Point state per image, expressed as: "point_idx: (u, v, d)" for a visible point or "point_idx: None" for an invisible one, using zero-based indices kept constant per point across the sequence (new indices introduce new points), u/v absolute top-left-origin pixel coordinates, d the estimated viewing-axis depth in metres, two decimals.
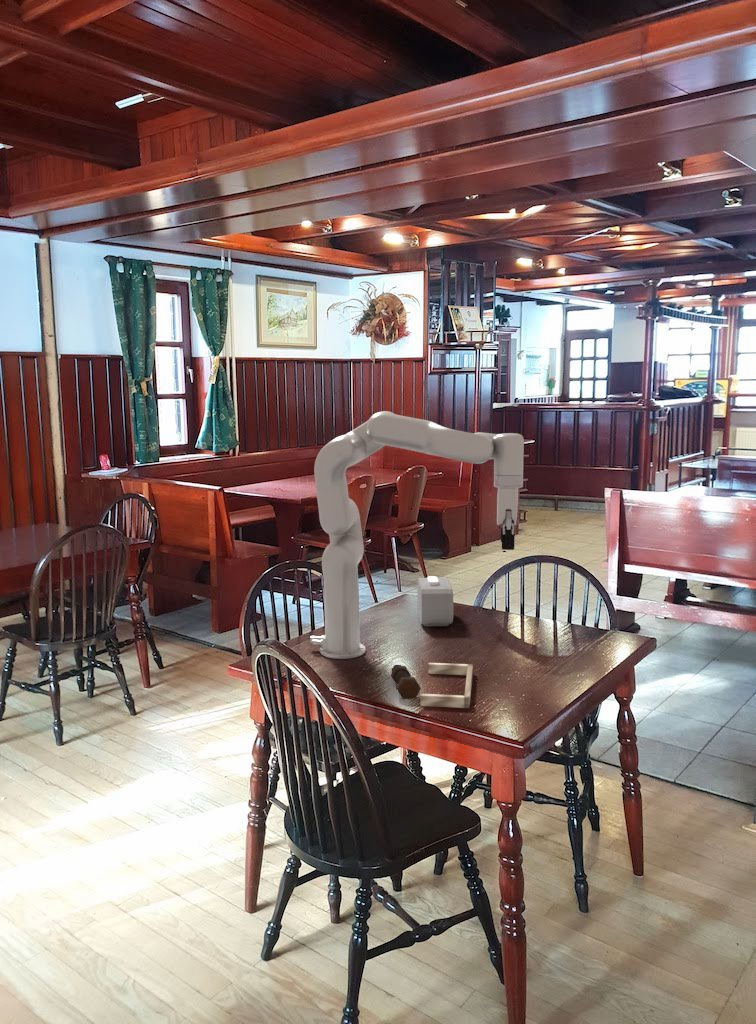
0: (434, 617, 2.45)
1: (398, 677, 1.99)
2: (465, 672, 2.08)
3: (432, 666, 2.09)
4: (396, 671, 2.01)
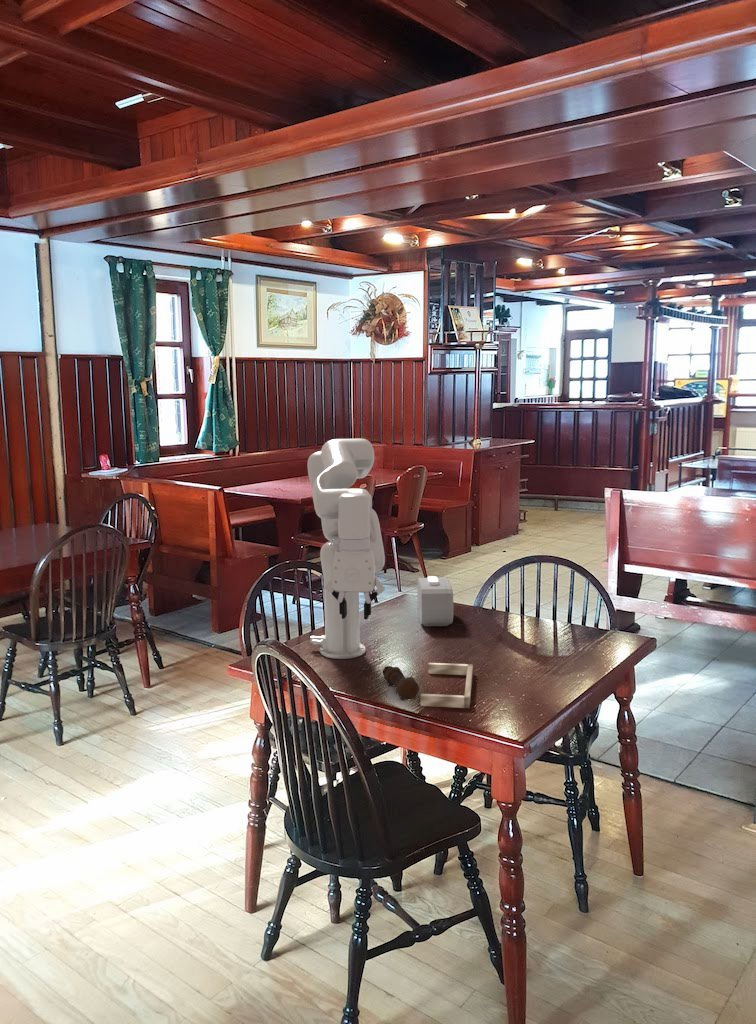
0: (434, 617, 2.45)
1: (394, 678, 1.98)
2: (465, 672, 2.08)
3: (432, 666, 2.09)
4: (390, 672, 2.00)
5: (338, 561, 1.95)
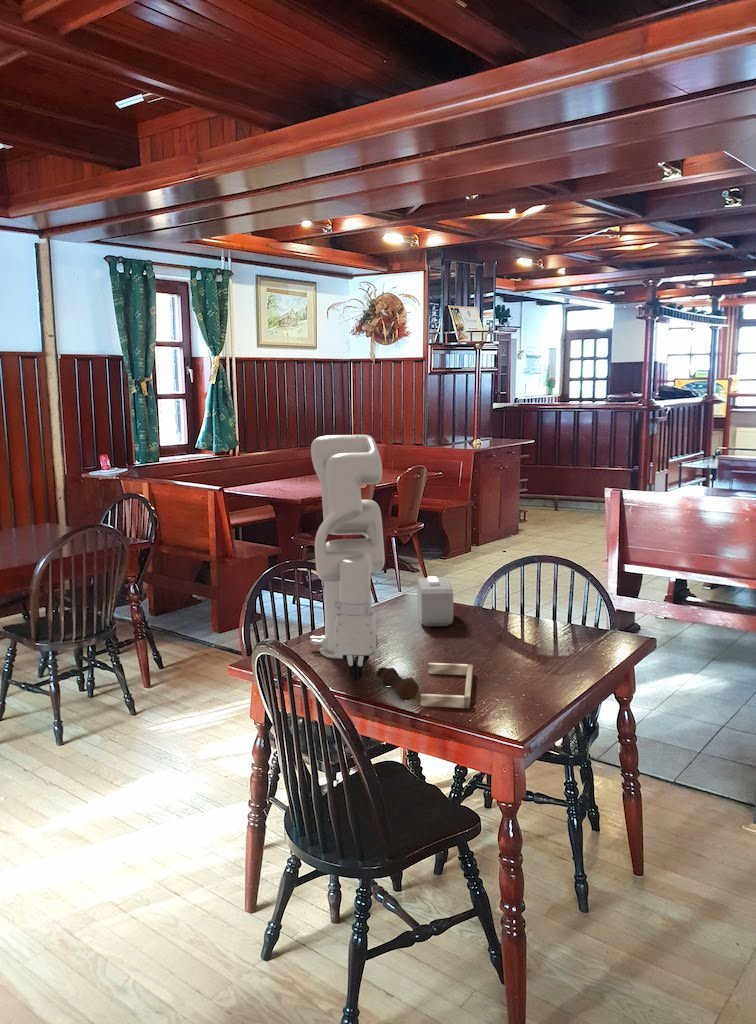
0: (434, 617, 2.45)
1: (391, 679, 1.97)
2: (465, 672, 2.08)
3: (432, 666, 2.09)
4: (386, 674, 2.00)
5: (339, 625, 1.97)
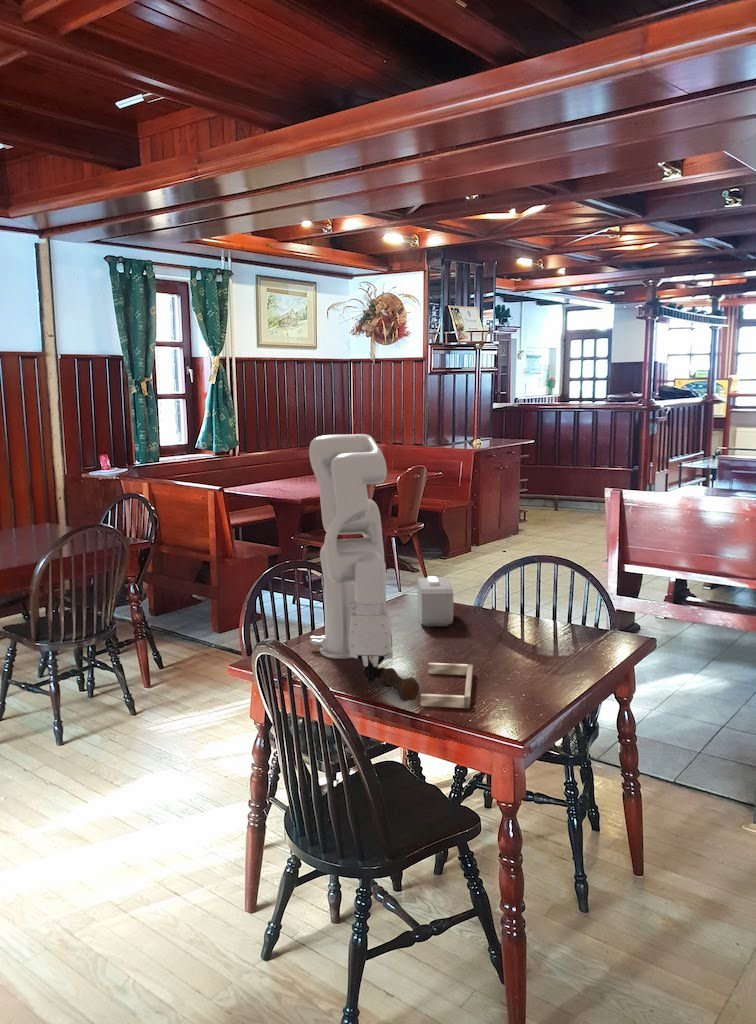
0: (434, 617, 2.45)
1: (391, 680, 1.97)
2: (465, 672, 2.08)
3: (432, 666, 2.09)
4: (385, 674, 1.99)
5: (355, 625, 1.97)
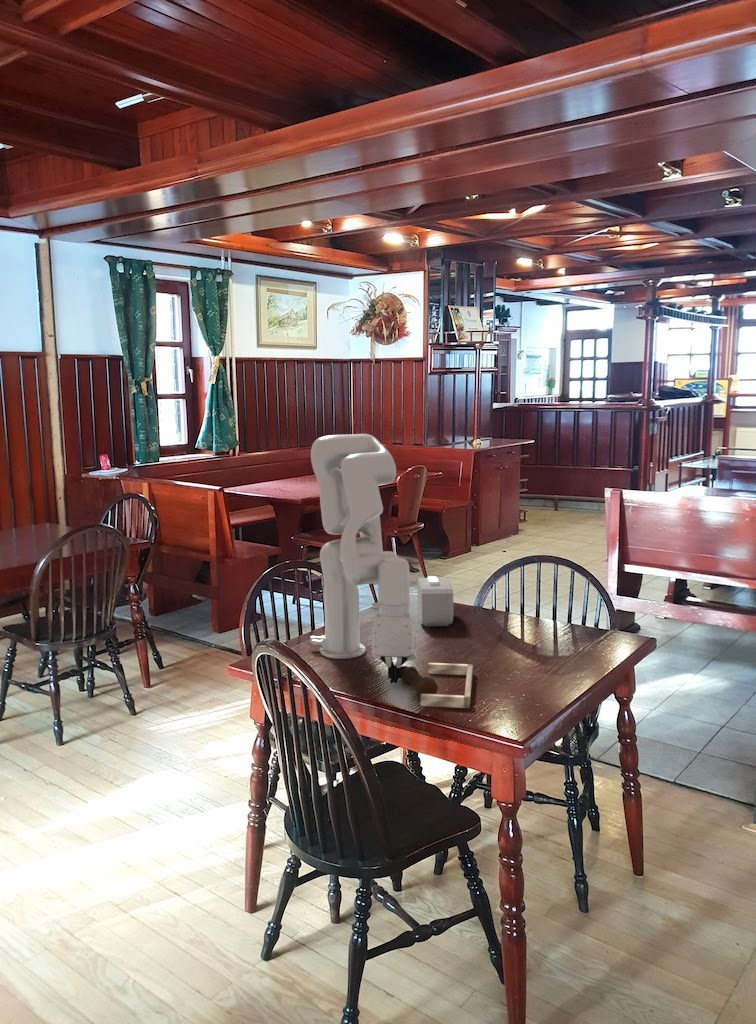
0: (434, 617, 2.45)
1: (411, 678, 1.97)
2: (465, 672, 2.08)
3: (432, 666, 2.09)
4: (406, 672, 2.00)
5: (378, 626, 1.96)
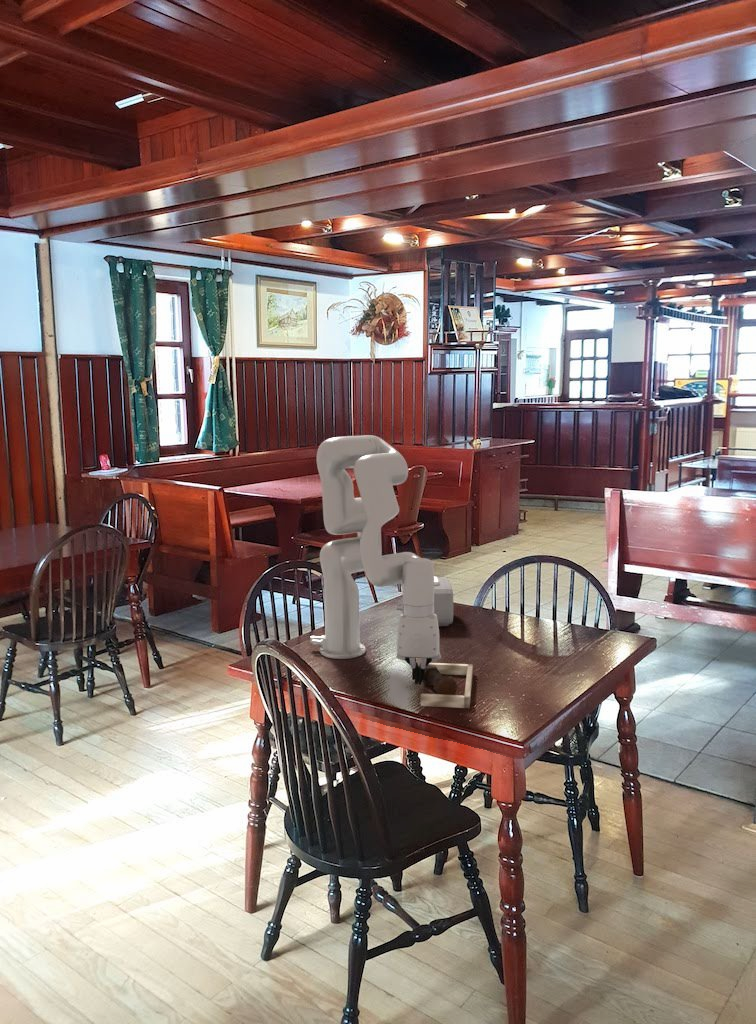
0: None
1: (431, 677, 1.98)
2: (465, 672, 2.08)
3: None
4: (427, 671, 2.01)
5: (403, 627, 1.95)
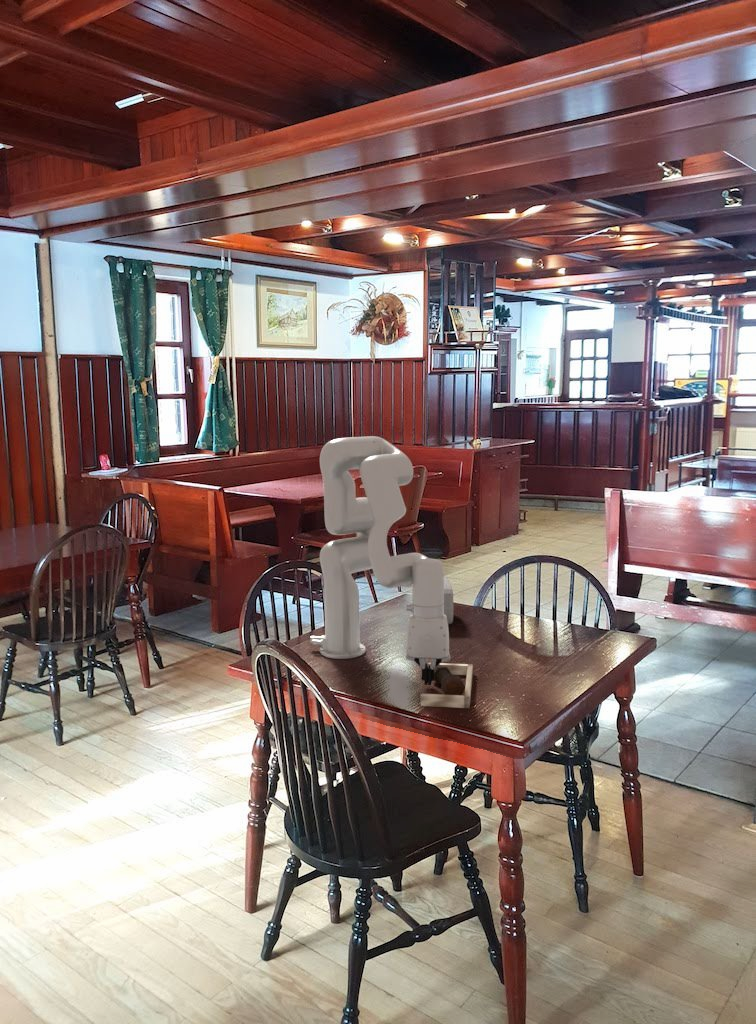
0: None
1: (440, 676, 1.99)
2: (465, 672, 2.08)
3: None
4: (437, 670, 2.02)
5: (412, 627, 1.95)
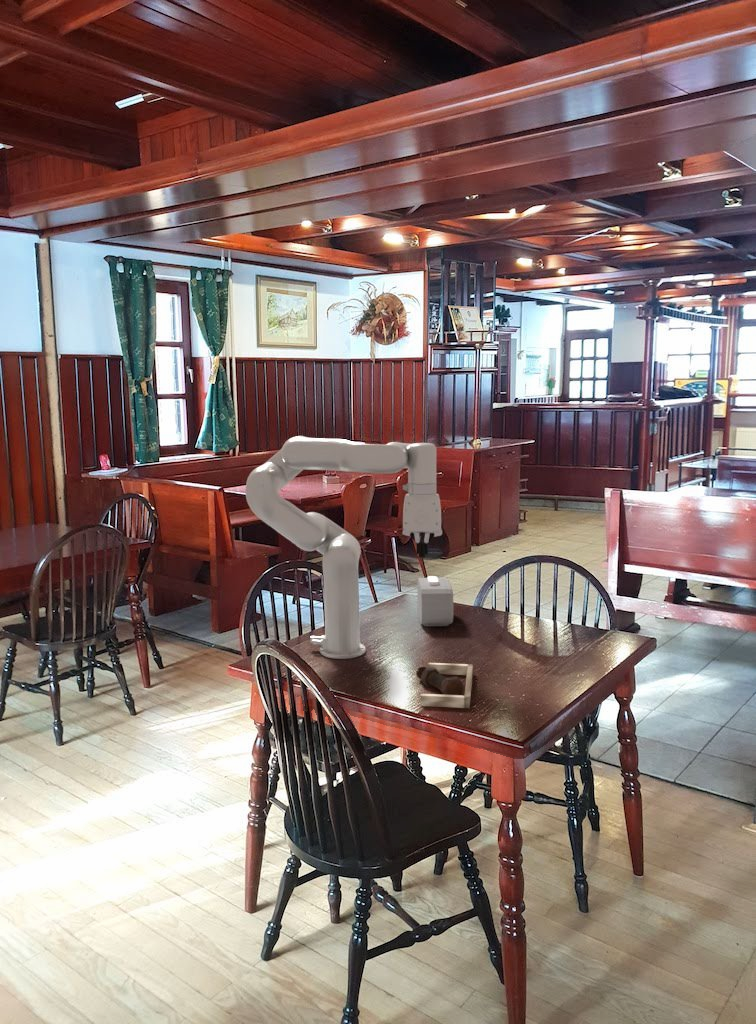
0: (434, 617, 2.45)
1: (434, 679, 1.97)
2: (465, 672, 2.08)
3: (432, 666, 2.09)
4: (428, 673, 2.00)
5: (408, 504, 2.17)
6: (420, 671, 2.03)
